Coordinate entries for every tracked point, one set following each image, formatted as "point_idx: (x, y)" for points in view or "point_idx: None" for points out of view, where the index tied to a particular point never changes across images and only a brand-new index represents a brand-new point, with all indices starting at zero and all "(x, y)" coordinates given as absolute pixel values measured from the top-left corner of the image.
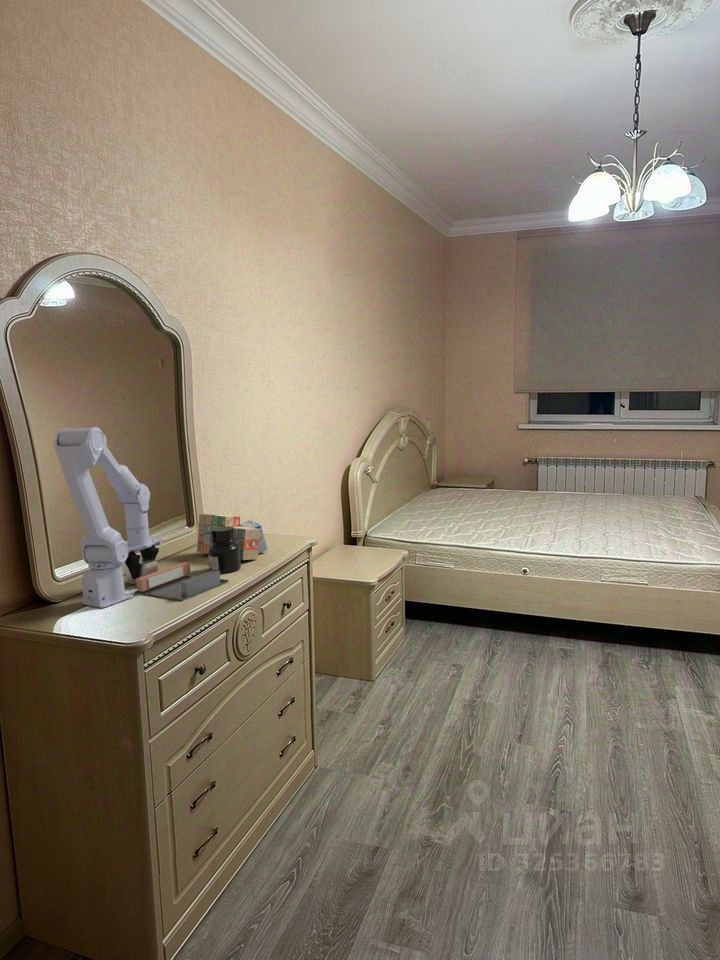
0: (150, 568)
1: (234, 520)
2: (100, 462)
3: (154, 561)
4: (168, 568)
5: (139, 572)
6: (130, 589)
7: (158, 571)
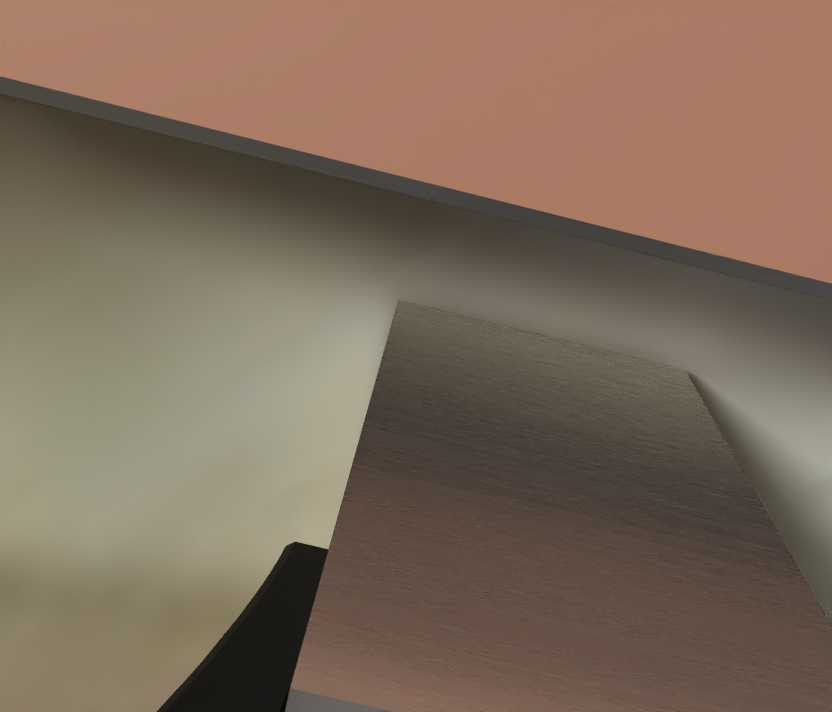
0: (632, 581)
1: None
2: None
3: (429, 708)
4: (296, 45)
5: None
6: (828, 557)
7: (756, 213)
